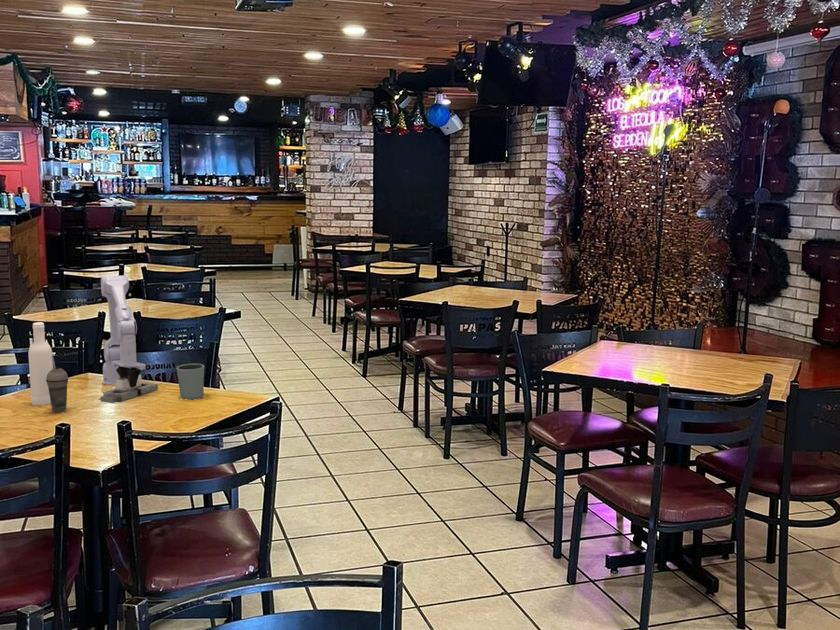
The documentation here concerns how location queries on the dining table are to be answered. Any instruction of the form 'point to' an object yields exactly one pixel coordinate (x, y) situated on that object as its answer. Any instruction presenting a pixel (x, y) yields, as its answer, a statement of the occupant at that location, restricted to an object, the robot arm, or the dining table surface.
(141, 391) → the chain end
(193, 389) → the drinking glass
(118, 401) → the mat
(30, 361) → the bottle
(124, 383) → the master link
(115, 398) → the chain end
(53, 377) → the beverage cup
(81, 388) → the dining table surface
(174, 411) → the dining table surface
